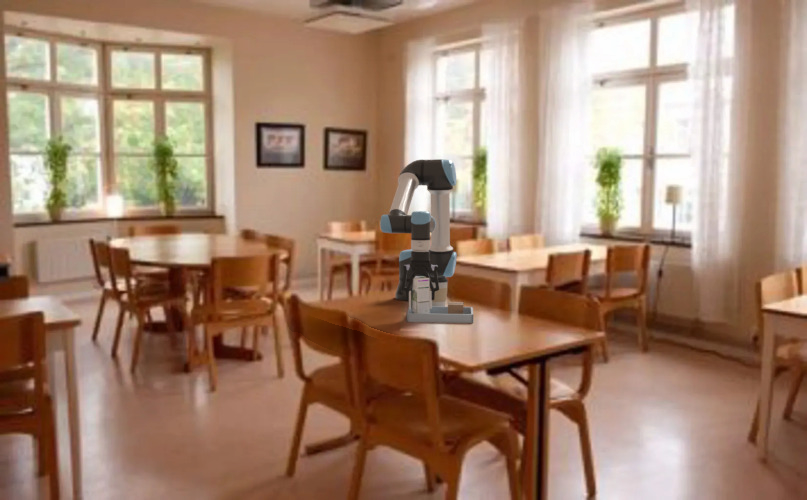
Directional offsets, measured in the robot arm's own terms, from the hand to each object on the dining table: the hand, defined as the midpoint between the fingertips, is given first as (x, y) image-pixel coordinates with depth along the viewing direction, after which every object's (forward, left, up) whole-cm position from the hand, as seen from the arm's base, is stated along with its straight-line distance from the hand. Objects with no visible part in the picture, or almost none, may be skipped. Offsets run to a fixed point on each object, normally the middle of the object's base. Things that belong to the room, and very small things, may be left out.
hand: (420, 307), depth 269 cm
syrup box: (0, 0, -2) cm, 2 cm away
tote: (0, +8, -5) cm, 9 cm away
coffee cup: (-21, +6, -5) cm, 22 cm away
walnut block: (0, +14, -4) cm, 15 cm away
